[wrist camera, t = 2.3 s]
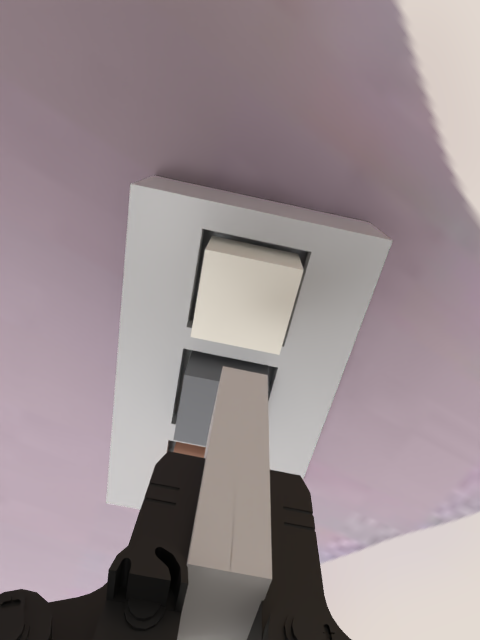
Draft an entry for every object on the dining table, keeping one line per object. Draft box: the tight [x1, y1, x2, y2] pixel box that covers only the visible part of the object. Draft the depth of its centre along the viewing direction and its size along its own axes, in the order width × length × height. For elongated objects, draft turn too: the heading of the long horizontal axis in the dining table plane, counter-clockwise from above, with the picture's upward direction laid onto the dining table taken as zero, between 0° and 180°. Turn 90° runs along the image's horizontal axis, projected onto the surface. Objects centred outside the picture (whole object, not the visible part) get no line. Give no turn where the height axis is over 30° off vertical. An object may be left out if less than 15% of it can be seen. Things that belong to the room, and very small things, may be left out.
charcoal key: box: [173, 350, 269, 446], centre depth 25 cm, size 5×5×3 cm
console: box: [106, 175, 393, 509], centre depth 28 cm, size 24×14×5 cm, turn 168°
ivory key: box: [191, 236, 304, 355], centre depth 22 cm, size 5×5×3 cm
